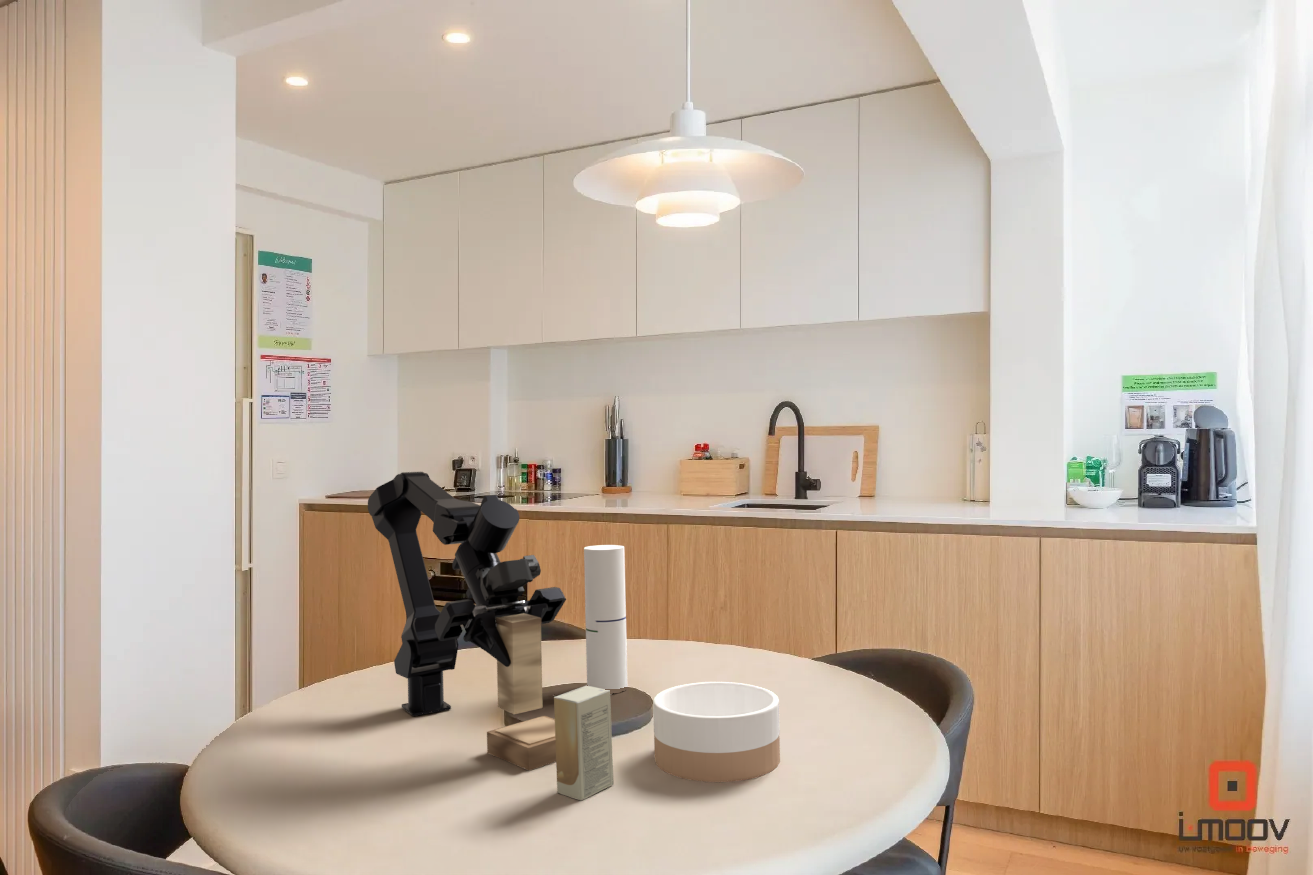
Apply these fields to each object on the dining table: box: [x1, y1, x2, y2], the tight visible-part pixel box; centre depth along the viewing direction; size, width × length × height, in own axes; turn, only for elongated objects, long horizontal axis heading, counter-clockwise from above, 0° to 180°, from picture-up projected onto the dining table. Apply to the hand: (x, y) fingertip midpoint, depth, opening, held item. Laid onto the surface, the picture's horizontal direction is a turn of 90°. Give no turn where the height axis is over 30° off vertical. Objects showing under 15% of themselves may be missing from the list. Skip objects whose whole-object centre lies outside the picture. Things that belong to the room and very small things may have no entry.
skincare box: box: [553, 685, 614, 801], centre depth 112 cm, size 6×4×12 cm
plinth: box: [486, 715, 556, 772], centre depth 126 cm, size 10×10×3 cm
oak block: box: [496, 613, 544, 715], centre depth 125 cm, size 5×5×12 cm
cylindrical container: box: [583, 544, 629, 689], centre depth 158 cm, size 7×7×25 cm
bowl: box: [652, 681, 781, 783], centre depth 122 cm, size 17×17×8 cm
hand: (524, 661), depth 123 cm, fingers closed on oak block, 4 cm apart
